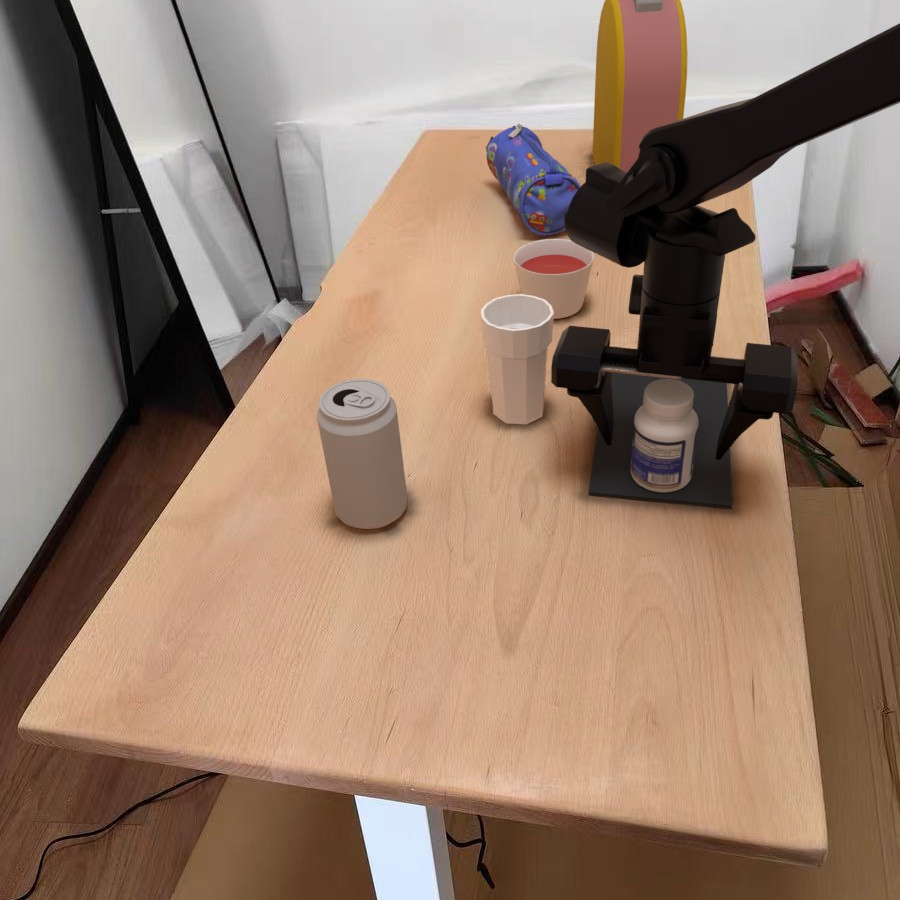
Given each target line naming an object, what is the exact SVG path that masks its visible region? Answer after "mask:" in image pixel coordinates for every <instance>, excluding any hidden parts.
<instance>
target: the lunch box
mask: <svg viewBox="0 0 900 900" xmlns="http://www.w3.org/2000/svg"><path fill="white" fill-rule="evenodd" d="M683 8H684V7H683V5H682V1H681V0H604V2H603V5H602V9H601V12H600V16H599V17H600V18H599V23H598V31H597V39H596V41H597V42H596V56H595V57H596V58H595V79H594V80H595V81H594V85H595V86H594V104H593V105H594V107H593V127H592V129H593V131H592V154H591V155H592V160H593V162H594V166H595V165H598V164H601V163H603V162H607V163H610V164H613V165H615V166H617V167H618V168H619V169H621V170H622V171H624V172H628V171H629V170H630V168H631V167H632V166H633V164H634V163H635V162H636V160H637V159H638V156H639V152H640V149H639V143H640V141H641V139H642V138H643V136H644V135H645V134H646V133H648V132H649V131H650V130H652V129H654V128H657V127H660V126H663V125H666V124H669V123H672V122H675V121H678V120H681V119H684V114H685V105H686V97H687V96H686V95H687V81H688V33H687V25H686V19H685V18H686V17H685V13H684V9H683Z"/></svg>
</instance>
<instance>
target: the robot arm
mask: <svg viewBox="0 0 900 900" xmlns="http://www.w3.org/2000/svg"><path fill="white" fill-rule="evenodd" d="M898 104H900V22H899V23H897V24H895V25H893V26H892V27H890V28H887V29H886V30H884V31H882V32H880V33H878V34H876V35H874V36H872V37H870V38H868V39H866V40H864V41H862V42H860V43H858V44H856V45H853V46H852V47H851V48H849V49H847V50H845V51H843V52H841V53H839V54H836V55H835V56H833V57H831V58H829V59H827V60H825V61H824V62H821V63H819V64H818V65H815V66H813V67H811V68H809V69H807V70H805V71H803V72H802V73H800V74H798V75H796V76H794V77H792V78H790V79H789V80H786V81H784V82H782V83H780V84H779V85H776V86H774V87H772V88H771V89H768V90H767V91H765V92H763V93H761V94H759V95H757V96H755V97H752V98H748V99H744V100H739V101H736V102H733V103H732V102H731V103H728V104H725V105H721V106H717V107H714V108H711V109H708V110H705V111H702V112H699V113H697V114H692V115H689V116H687V117H685V118H684V117H683V119H681V120H678V121H675V122H672V123H669V124H666V125H663V126H660V127H657V128H654V129H652V130H650V131H649V132H648V133H646V134H645V135H644V136H643V138H642V139H641V141H640V143H639V149H640V152H639V156H638V159H637V160H636V162H635V163H634V164H633V166H632V167H631V168H630V170H629V171H628V172H624V171H622V170H621V169H619V168H618V167H617V166H615V165H613V164H610V163H607V162H603V163H601V164H598V165H595V164H594V165H591V166H589V167H587V168H586V169H585V182H584V183H582V185H580V186H581V187H580V188H579V189H578V190H577V192H576V193H575V195H574V196H573V198H572V200H571V203H570V205H569V208H568V211H567V212H566V213H565V221H564V222H565V230H564V231H565V233H566V235H567V237H568V239H569V240H571V241H572V242H574V243H576V244H577V245H580V246H582V247H584V248H586V249H588V250H590V251H592V252H593V254H596V255H598V256H600V257H602V258H604V259H606V260H609V261H610V262H612V263H614V264H616V265H618V266H621V267H622V268H627V269H629V268H635V267H638V266H640V265H641V264H643V272H642V273H643V274H634V275H632V280H631V287H630V292H629V299H628V300H629V302H628V314H629V315H635V316H636V315H637V316H639V323H638V335H637V348H629V347H621V346H612V345H611V330H610V329H609V328H599V327H591V326H590V327H589V326H580V325H568V327H566V328H565V329H564V330H563V331H562V332H561V335H560V336H559V337H560V338H559V340H558V342H557V345H556V347H555V349H554V352H553V355H552V360H551V367H550V368H551V369H550V370H551V371H550V383H551V384H552V385H553V386H554V387H556V388H561V389H566V394H567V395H568V396H570V397H574V398H577V399H578V400H579V401H580V402H581V403H582V405H583V407H584V408H585V409H586V411H587V412H588V414H589V415H590V416H591V418H592V420H593V422H594V423H595V425H596V428H597V430H598V429H599V431H600V433H601V435H602V437H603V439H604V441H605V443H606V445H611V443H612V439H613V430H614V416H613V399H612V372H614V373H623V374H633V375H642V376H651V377H660V378H669V379H678V380H682V379H683V378H684V379H693V380H702V381H711V382H721V383H727V384H729V385H733V389H732V392H731V396H730V399H729V402H728V409H727V412H726V415H725V418H724V421H723V425H722V428H721V431H720V434H719V437H718V443H717V450H716V457H715V459H716V460H721V458H722V457H723V456H724V455H725V453H726V452H727V451H728V450H729V448H730V449H731V447H732V446H733V445H734V444H735V442H736V441H737V440H738V439H739V438H740V437H741V435H743V433H745V432H746V431H747V430H749V428H750V427H752V426H753V425H754V424H755V423H756V422H758V420H770V419H772V418H773V417H774V414H783V415H786V414H788V413H791V412H792V411H793V410H794V405H795V401H796V397H797V391H798V384H799V381H798V380H799V377H798V376H799V375H798V374H799V371H798V370H799V364H798V363H799V362H798V360H799V356H798V353H796V351H795V350H794V349H793V347H792V346H784V345H776V344H775V345H774V344H765V343H753V342H746V345H745V349H744V355H743V358H737V357H736V358H735V357H725V356H717V355H712V350H713V347H714V341H715V333H716V328H717V320H718V308H719V302H720V295H721V288H722V281H723V273H724V267H725V261H726V260H725V259H726V255H727V254H729V253H732V252H734V251H736V250H740V249H741V248H744V247H746V246H748V245H750V244H752V243H754V242H755V241H756V239H757V237H756V234H755V232H754V231H753V230H752V228H751V226H750V225H749V224H748V223H746V222H745V221H744V220H743V219H742V218H741V216H740V214H739V212H738V210H737V209H736V208H735V207H732V208H729V209H726V210H723V211H721V212H716V211H714V210H711V209H708V208H706V207H704V206H701V205H700V204H704V203H705V202H708V201H711V200H713V199H715V198H718V197H721V196H724V195H726V194H728V193H731V192H733V191H734V192H735V191H737V190H738V189H740V188H742V187H743V186H745V185H746V184H748V183H750V182H751V181H752V180H754V179H755V178H757V177H758V176H760V175H761V174H763V173H764V172H766V171H767V170H769V169H770V168H772V166H773V165H774V164H775V163H776V162H778V161H779V160H780V158H782V157H783V156H784V155H786V154H788V153H789V152H790V151H792V150H793V149H795V148H797V147H798V146H801V145H803V144H806V143H807V142H808V143H809V142H811V141H813V140H816V139H818V138H820V137H822V136H825V135H827V134H829V133H832V132H834V131H836V130H840V129H841V128H843V127H847V126H850V124H853V123H856V122H858V121H860V120H863V119H865V118H867V117H870V116H873V115H875V114H877V113H879V112H881V111H884V110H886V109H888V108H892V107H894V106H896V105H898ZM610 345H611V346H610Z"/></svg>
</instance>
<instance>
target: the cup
mask: <svg viewBox="0 0 900 900" xmlns="http://www.w3.org/2000/svg"><path fill="white" fill-rule="evenodd" d="M480 317H481V327H482V337H483V343H484V344H483V345H484V347H485V349H486V355H487V365H488V374H489V384H490V385H489V386H490V393H491V401H492V414H493V415H494V416H495V417H497V419H498V420H500V421H502V422H503V423H504V424H506V425H507V424H509V425H526V426H527V425H528V424H530V423H532V422H534V421H537V420H539V419H540V418H543V416H544V410H545V393H546V381H547V380H546V378H547V366H548V365H547V364H548V351H549V349H548V348H549V347H550V345H551V343H552V342H553V333H554V332H553V331H554V320H555V319H554V312H553V309H552V306H551V305H550V304H549V303H548V302H547V301H546V300H544V299H541V298H539V297H536V296H531V295H524V294H521V293H517V294H516V293H515V294H507V295H503V296H499V297H494V298H492V300H490V301H488V302H486V303H485V305H484V306H483V307H482V308H481V310H480Z"/></svg>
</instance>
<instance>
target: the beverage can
mask: <svg viewBox="0 0 900 900" xmlns="http://www.w3.org/2000/svg"><path fill="white" fill-rule="evenodd" d="M318 400H319V401H318V406H319V408H318V409H317V413H316V421H317V426H318V431H319V436H320V441H321V446H322V452H323V456H324V457H323V458H324V462H325V467H326V472H327V477H328V482H329V487H330V493H331V498H332V503H333V509H334V513H335V514H336V517H337V518H338V519H339V520H340V521H341V522H342V523H343V524H345V525H346V526H349V527H351V528H355V529H362V530H375V529H379V528H383V527H387V526H388V525H390V524H392V523H393V522H396V521H397V520H398V519H399V518H400V517H401V516H402V515H403V514H404V512H405V511H406V509H407V506H408V500H409V499H408V489H407V482H406V481H407V480H406V474H405V465H404V457H403V450H402V449H403V448H402V443H401V434H400V433H401V432H400V426H399V425H400V424H399V418H398V416H399V415H398V409H397V404H396V403H397V402H395V400H394V398H392V397H391V391H390V390H389V389H388V387H387V386H386V385H384V384H383V383H382V382H380V381H378V380H374V379H370V378H351V379H348V380H347V379H346V380H343V381H340V382H337V383H335V384H333V385H331V386H329V387H328V388H327V389H325V390H324V391H323V392H322V394H321V395H320V397H319V399H318Z"/></svg>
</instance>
